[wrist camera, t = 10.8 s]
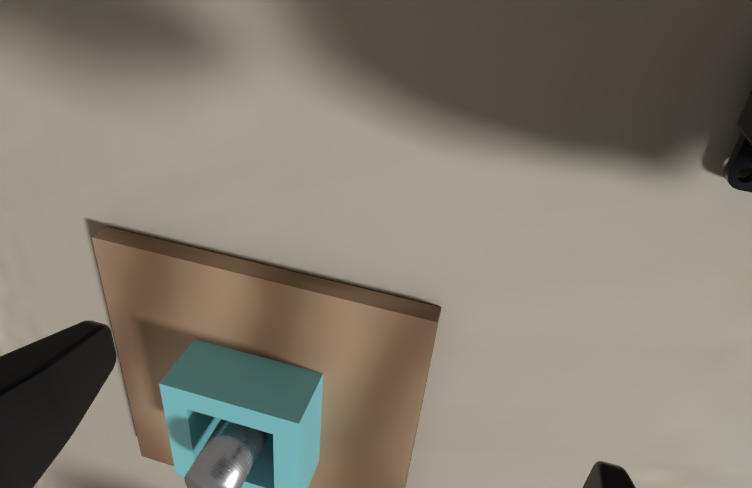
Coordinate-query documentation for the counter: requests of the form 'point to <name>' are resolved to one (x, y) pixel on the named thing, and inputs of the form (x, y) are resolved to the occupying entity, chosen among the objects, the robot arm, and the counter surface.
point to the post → (226, 457)
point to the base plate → (273, 346)
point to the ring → (245, 410)
